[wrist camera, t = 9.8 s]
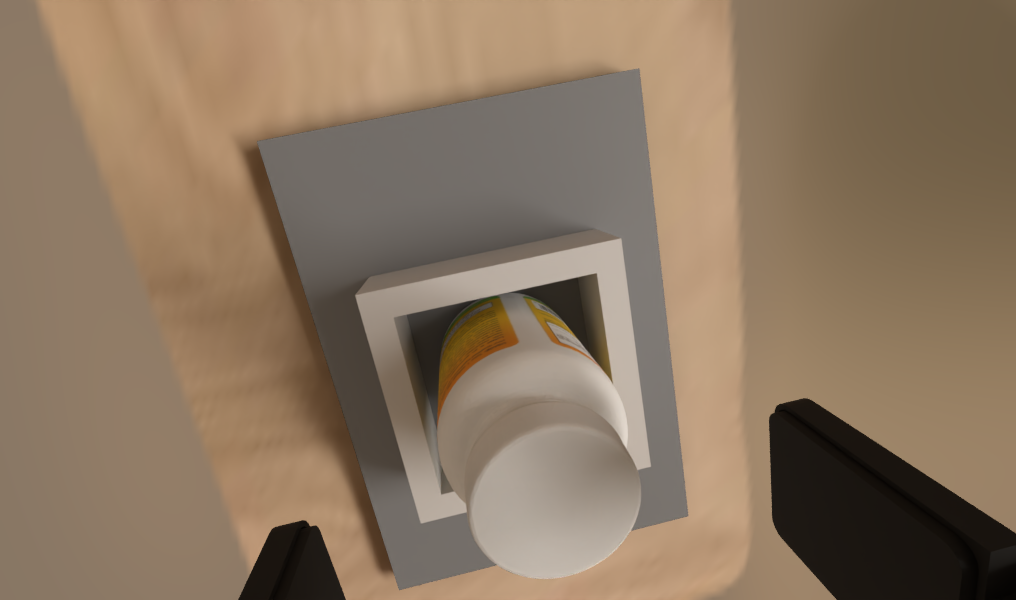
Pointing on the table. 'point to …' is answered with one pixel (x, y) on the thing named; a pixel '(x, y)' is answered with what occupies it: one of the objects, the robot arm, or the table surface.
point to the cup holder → (478, 279)
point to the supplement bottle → (533, 439)
